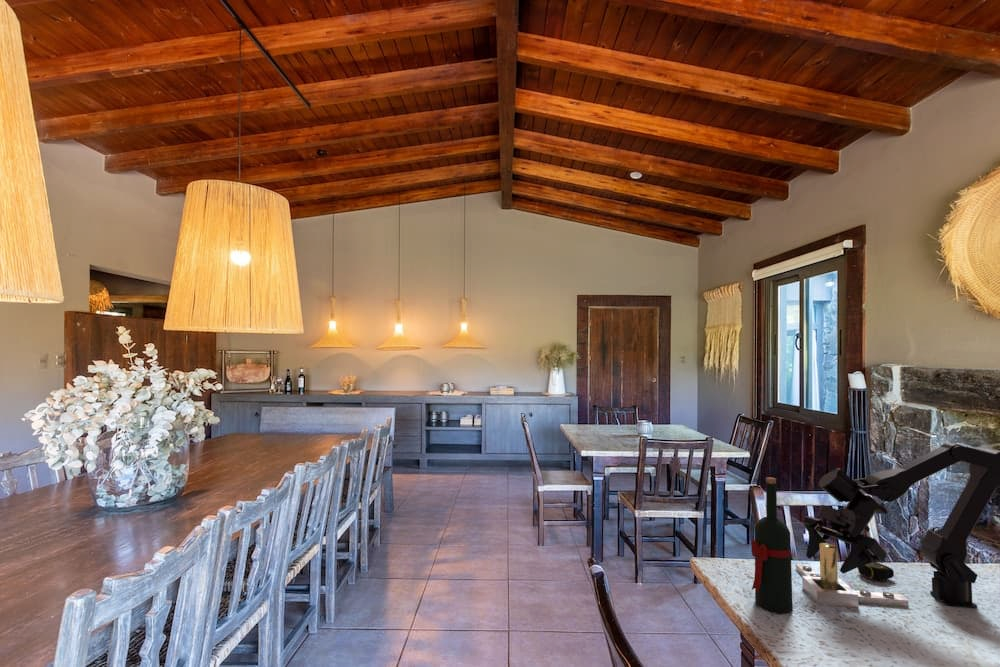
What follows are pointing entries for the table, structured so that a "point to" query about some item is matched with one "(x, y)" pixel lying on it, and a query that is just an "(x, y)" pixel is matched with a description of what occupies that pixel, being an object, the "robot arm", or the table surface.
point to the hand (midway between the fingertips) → (824, 564)
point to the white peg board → (844, 592)
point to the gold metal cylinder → (828, 566)
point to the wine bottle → (772, 558)
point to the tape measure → (876, 571)
